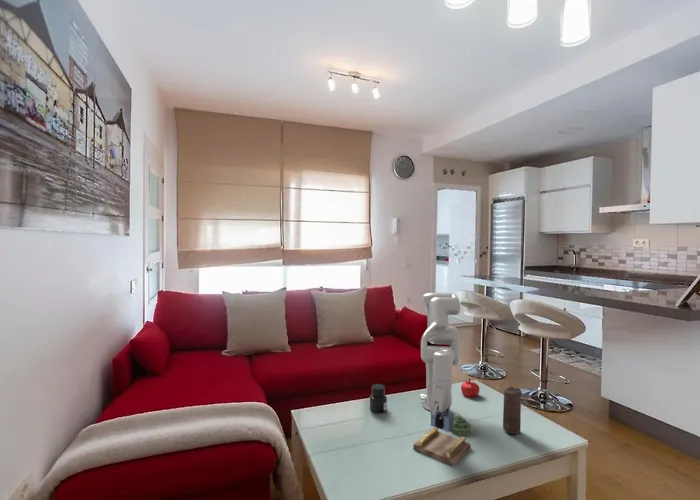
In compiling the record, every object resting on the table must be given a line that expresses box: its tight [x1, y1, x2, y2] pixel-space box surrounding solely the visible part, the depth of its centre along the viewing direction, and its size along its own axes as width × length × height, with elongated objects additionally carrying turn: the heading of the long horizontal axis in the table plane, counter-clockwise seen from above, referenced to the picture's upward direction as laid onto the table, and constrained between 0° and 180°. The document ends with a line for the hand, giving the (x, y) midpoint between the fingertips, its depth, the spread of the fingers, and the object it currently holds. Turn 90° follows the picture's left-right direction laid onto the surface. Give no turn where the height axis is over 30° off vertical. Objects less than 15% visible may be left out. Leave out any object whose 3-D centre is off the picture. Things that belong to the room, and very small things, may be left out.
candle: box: [502, 386, 522, 435], centre depth 165 cm, size 8×7×20 cm
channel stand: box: [412, 427, 472, 467], centre depth 152 cm, size 18×16×4 cm
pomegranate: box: [460, 378, 481, 398], centre depth 205 cm, size 10×10×9 cm
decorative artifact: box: [449, 414, 472, 437], centre depth 167 cm, size 10×7×10 cm
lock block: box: [430, 409, 455, 433], centre depth 152 cm, size 8×5×6 cm, turn 50°
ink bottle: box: [369, 383, 388, 414], centre depth 187 cm, size 10×9×12 cm
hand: (442, 424), depth 152 cm, fingers closed on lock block, 5 cm apart
